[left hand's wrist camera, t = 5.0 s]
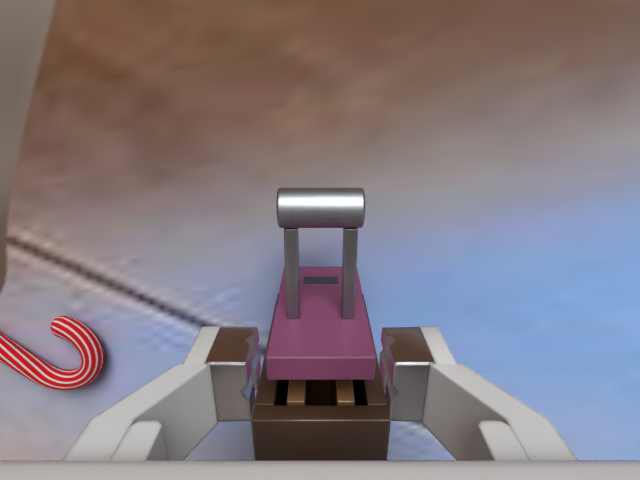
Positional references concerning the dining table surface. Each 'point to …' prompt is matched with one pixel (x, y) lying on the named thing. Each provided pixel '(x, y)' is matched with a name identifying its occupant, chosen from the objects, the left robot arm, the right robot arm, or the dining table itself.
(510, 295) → the dining table surface
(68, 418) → the dining table surface
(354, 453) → the cabinet
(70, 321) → the candy cane
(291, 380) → the drawer
